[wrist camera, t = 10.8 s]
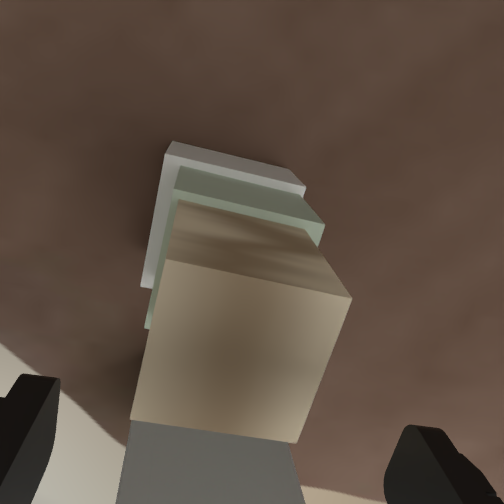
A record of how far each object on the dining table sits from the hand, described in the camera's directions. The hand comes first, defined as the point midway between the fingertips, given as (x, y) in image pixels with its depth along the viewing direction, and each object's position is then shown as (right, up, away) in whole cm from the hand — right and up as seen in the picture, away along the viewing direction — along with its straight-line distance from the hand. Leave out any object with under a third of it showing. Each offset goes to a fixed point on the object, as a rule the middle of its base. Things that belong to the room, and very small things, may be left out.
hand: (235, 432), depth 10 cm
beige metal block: (-1, +3, +8) cm, 8 cm away
